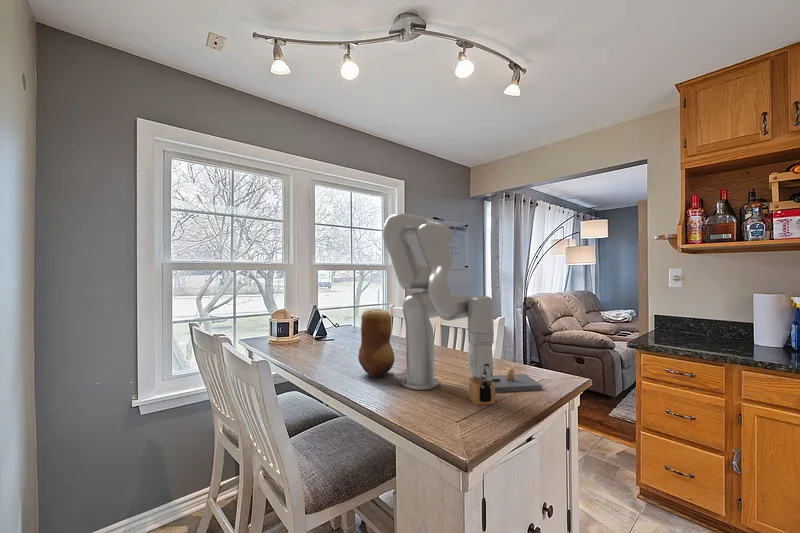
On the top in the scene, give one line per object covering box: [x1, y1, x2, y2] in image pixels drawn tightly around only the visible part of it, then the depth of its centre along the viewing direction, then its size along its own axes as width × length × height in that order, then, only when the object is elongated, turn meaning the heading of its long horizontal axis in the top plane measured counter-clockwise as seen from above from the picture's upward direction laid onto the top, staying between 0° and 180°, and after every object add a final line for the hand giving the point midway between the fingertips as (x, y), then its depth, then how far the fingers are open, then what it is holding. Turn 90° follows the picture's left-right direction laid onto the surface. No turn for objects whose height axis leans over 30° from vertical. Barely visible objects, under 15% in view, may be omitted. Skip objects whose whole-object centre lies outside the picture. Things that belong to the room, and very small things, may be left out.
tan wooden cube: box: [468, 376, 496, 406], centre depth 106 cm, size 6×6×6 cm
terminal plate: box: [482, 367, 543, 393], centre depth 119 cm, size 16×12×6 cm
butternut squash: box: [358, 308, 395, 378], centre depth 132 cm, size 14×13×25 cm
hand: (481, 396), depth 106 cm, fingers closed on tan wooden cube, 5 cm apart
